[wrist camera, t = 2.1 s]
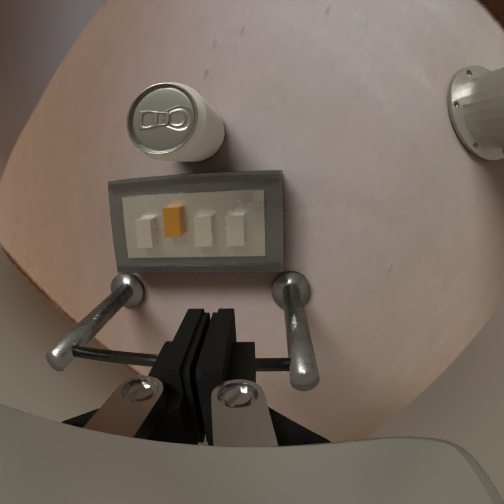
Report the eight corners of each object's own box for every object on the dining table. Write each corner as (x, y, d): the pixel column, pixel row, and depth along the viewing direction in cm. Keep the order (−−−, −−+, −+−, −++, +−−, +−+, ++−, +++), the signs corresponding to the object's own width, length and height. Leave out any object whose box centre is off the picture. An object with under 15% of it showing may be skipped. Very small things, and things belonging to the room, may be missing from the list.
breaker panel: (280, 170, 33) (283, 171, 28) (282, 260, 36) (284, 277, 30) (123, 179, 34) (99, 182, 29) (131, 262, 37) (110, 278, 31)
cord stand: (310, 270, 36) (339, 352, 20) (308, 305, 37) (332, 401, 21) (110, 272, 37) (29, 335, 21) (116, 304, 39) (45, 378, 22)
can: (224, 162, 33) (201, 160, 22) (167, 162, 34) (120, 162, 22) (226, 104, 32) (205, 74, 20) (169, 106, 32) (124, 81, 20)
